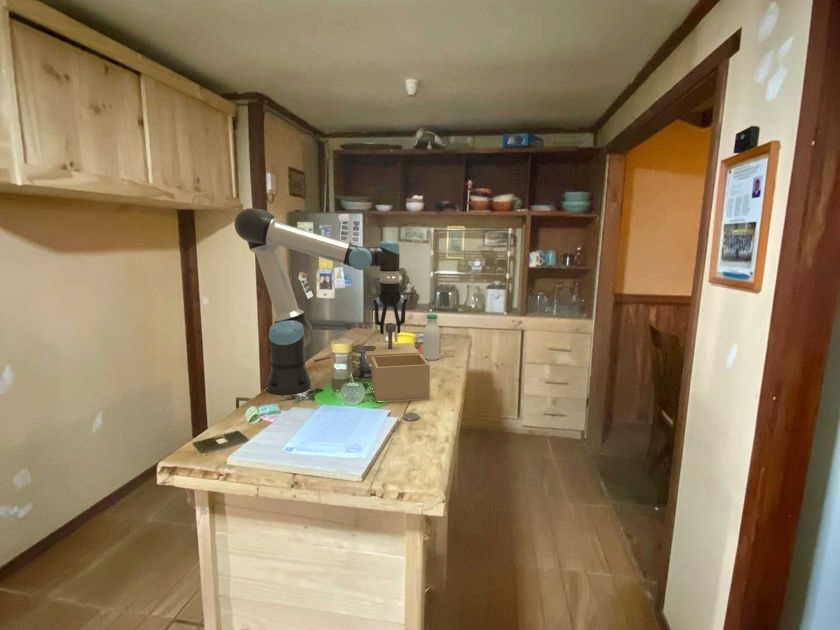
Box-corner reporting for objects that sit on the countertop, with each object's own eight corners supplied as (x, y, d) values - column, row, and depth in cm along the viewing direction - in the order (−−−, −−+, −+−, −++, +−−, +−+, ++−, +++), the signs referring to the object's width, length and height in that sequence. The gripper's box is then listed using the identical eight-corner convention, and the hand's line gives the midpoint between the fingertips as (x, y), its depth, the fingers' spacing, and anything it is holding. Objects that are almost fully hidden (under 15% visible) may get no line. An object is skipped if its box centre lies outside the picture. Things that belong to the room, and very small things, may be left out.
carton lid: (367, 363, 165) (366, 328, 163) (362, 352, 181) (362, 320, 178) (419, 360, 169) (419, 326, 167) (411, 350, 185) (411, 318, 182)
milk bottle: (438, 361, 196) (439, 316, 192) (421, 360, 197) (421, 315, 194) (441, 356, 203) (442, 313, 200) (424, 355, 205) (425, 312, 201)
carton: (376, 402, 147) (376, 367, 144) (371, 388, 160) (371, 356, 158) (429, 399, 150) (429, 364, 148) (420, 385, 164) (420, 353, 162)
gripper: (368, 283, 164) (369, 345, 169) (413, 282, 168) (413, 342, 172) (366, 281, 172) (367, 340, 176) (409, 280, 175) (409, 338, 179)
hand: (390, 341), depth 174 cm, fingers closed on carton lid, 4 cm apart
